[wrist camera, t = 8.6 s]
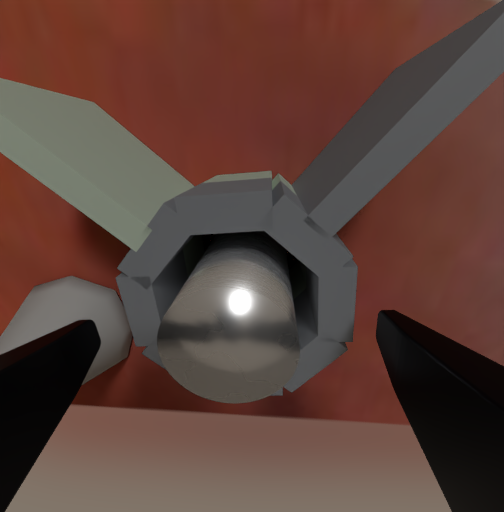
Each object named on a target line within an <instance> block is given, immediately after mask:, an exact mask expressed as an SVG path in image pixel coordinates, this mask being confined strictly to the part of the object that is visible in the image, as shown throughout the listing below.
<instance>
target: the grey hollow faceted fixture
mask: <svg viewBox="0 0 504 512" xmlns="http://www.w3.org/2000/svg"><path fill="white" fill-rule="evenodd" d="M503 72H504V0H502V1H501V2H499V3H498V4H496V5H495V6H493V7H491V8H490V9H488V10H487V11H485V12H484V13H482V14H480V15H479V16H477V17H476V18H474V19H473V20H471V21H469V22H468V23H466V24H465V25H463V26H462V27H460V28H459V29H457V30H455V31H454V32H452V33H451V34H449V35H448V36H446V37H444V38H443V39H441V40H440V41H438V42H437V43H435V44H434V45H432V46H430V47H429V48H427V49H426V50H424V51H423V52H421V53H419V54H418V55H416V56H415V57H413V58H412V59H410V60H408V61H407V62H405V63H404V64H402V65H401V66H399V67H398V68H396V69H395V70H394V71H393V72H392V73H391V74H390V75H389V77H388V78H387V79H386V80H385V81H384V82H383V83H382V84H381V86H380V87H379V88H378V89H377V90H376V91H375V92H374V93H373V94H372V96H371V97H370V98H369V99H368V100H367V101H366V102H365V103H364V105H363V106H362V107H361V108H360V109H359V110H358V111H357V112H356V114H355V115H354V116H353V117H352V118H351V119H350V120H349V121H348V123H347V124H346V125H345V126H344V127H343V128H342V129H341V130H340V131H339V133H338V134H337V135H336V136H335V137H334V138H333V139H332V140H331V142H330V143H329V144H328V145H327V146H326V147H325V148H324V149H323V151H322V152H321V153H320V154H319V155H318V156H317V157H316V158H315V160H314V161H313V162H312V163H311V164H310V165H309V166H308V167H307V168H306V170H305V171H304V172H303V173H302V174H301V175H300V176H299V177H298V179H297V180H296V181H295V182H294V183H293V184H292V187H293V189H294V191H295V193H296V194H297V195H296V194H295V193H293V192H292V191H291V190H290V189H289V188H288V187H287V186H286V185H285V184H284V183H282V182H281V181H280V182H279V183H278V184H277V185H276V186H275V187H274V189H273V190H272V178H260V179H248V180H235V181H222V182H209V183H201V184H199V185H197V186H195V187H193V188H191V189H189V190H187V191H185V192H183V193H181V194H179V195H177V196H175V197H174V198H172V199H170V200H168V201H166V202H164V203H163V204H162V206H161V207H160V209H159V210H158V211H157V213H156V214H155V216H154V217H153V218H152V220H151V221H150V223H149V224H148V225H147V226H148V227H149V228H150V229H152V231H151V233H150V234H149V235H148V237H147V238H146V240H145V241H144V242H143V244H142V245H141V247H140V248H139V249H138V251H137V252H135V251H134V250H133V249H130V251H129V252H128V253H127V255H126V256H125V258H124V259H123V260H122V262H121V263H120V265H119V266H118V267H117V269H119V270H120V271H121V272H122V273H121V274H120V275H119V276H117V277H116V281H117V284H118V288H119V291H120V294H121V298H122V301H123V304H124V308H125V311H126V315H127V318H128V321H129V325H130V328H131V331H132V335H133V338H134V341H135V345H136V346H146V348H145V349H144V351H143V353H142V354H143V355H145V356H146V357H148V358H149V359H151V360H152V361H154V362H155V363H157V364H158V365H160V366H161V367H163V368H164V369H166V368H165V367H164V365H163V363H162V361H161V358H160V355H159V352H158V347H157V334H158V329H159V326H160V323H161V321H162V319H163V317H164V315H165V314H166V312H167V311H168V309H169V307H170V306H171V304H172V303H173V301H174V300H175V298H176V296H177V295H178V293H179V292H180V290H181V289H182V287H183V286H184V284H185V282H186V281H187V279H188V274H187V269H186V264H185V258H184V253H183V247H184V246H185V245H186V244H187V242H188V241H189V240H190V239H191V238H192V236H193V235H202V234H218V233H235V232H252V231H265V232H266V233H268V234H269V235H270V236H271V237H272V238H274V239H275V240H276V241H277V242H278V243H279V244H281V245H282V246H283V247H284V248H285V249H286V250H288V251H289V252H290V253H291V254H292V255H294V256H295V257H296V258H297V259H298V260H299V261H301V262H302V263H303V264H304V265H305V266H306V289H305V290H304V291H302V292H301V293H300V294H299V295H298V296H297V297H296V298H295V299H294V300H293V303H294V310H295V317H296V324H297V331H298V338H299V346H300V357H299V362H298V365H297V368H296V370H295V372H294V374H293V376H292V377H291V379H290V380H289V381H288V382H287V383H286V384H285V385H284V386H283V387H285V388H286V389H287V390H289V391H290V392H293V391H294V390H296V389H297V388H298V387H300V386H301V385H302V384H304V383H305V382H306V381H308V380H309V379H310V378H312V377H313V376H314V375H315V374H317V373H318V372H319V371H321V370H322V369H323V368H325V367H326V366H327V365H329V364H330V363H331V362H333V361H334V360H335V359H337V358H338V357H339V356H340V355H342V354H343V353H344V352H346V351H347V350H348V349H347V346H346V344H345V342H353V328H354V314H355V299H356V284H357V270H358V266H357V265H356V264H355V262H354V261H353V260H352V257H354V256H353V255H352V254H351V253H350V251H349V250H348V249H347V247H346V246H345V245H344V243H343V242H342V241H341V239H340V238H339V237H338V235H337V234H336V233H337V232H338V231H339V230H340V229H341V228H342V227H343V226H344V225H345V224H346V223H347V222H348V221H349V220H350V219H351V218H352V217H353V216H354V215H355V214H356V213H357V212H358V211H359V210H361V209H362V208H363V207H364V206H365V205H366V204H367V203H368V202H369V201H370V200H371V199H372V198H373V197H374V196H375V195H376V194H377V193H378V192H379V191H380V190H381V189H382V188H383V187H384V186H385V185H386V184H387V183H389V182H390V181H391V180H392V179H393V178H394V177H395V176H396V175H397V174H398V173H399V172H400V171H401V170H402V169H403V168H404V167H405V166H406V165H407V164H408V163H409V162H410V161H411V160H412V159H413V158H414V157H415V156H417V155H418V154H419V153H420V152H421V151H422V150H423V149H424V148H425V147H426V146H427V145H428V144H429V143H430V142H431V141H432V140H433V139H434V138H435V137H436V136H437V135H438V134H439V133H440V132H441V131H442V130H444V129H445V128H446V127H447V126H448V125H449V124H450V123H451V122H452V121H453V120H454V119H455V118H456V117H457V116H458V115H459V114H460V113H461V112H462V111H463V110H464V109H465V108H466V107H467V106H468V105H469V104H470V103H472V102H473V101H474V100H475V99H476V98H477V97H478V96H479V95H480V94H481V93H482V92H483V91H484V90H485V89H486V88H487V87H488V86H489V85H490V84H491V83H492V82H493V81H494V80H495V79H496V78H497V77H499V76H500V75H501V74H502V73H503ZM272 395H283V389H282V388H281V389H280V390H278V391H277V392H275V393H274V394H272Z"/></svg>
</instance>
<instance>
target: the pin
mask: <svg viewBox="0 0 504 512" xmlns="http://www.w3.org/2000/svg"><path fill="white" fill-rule="evenodd" d="M157 347H158V352H159V355H160V358H161V361H162V363H163V365H164V367H165V368H166V370H167V371H168V373H169V374H170V375H171V376H172V377H173V378H174V379H175V380H176V381H177V382H178V383H179V384H180V385H182V386H183V387H184V388H186V389H187V390H189V391H191V392H192V393H194V394H196V395H198V396H201V397H203V398H206V399H209V400H213V401H217V402H223V403H246V402H252V401H256V400H260V399H263V398H265V397H268V396H270V395H272V394H274V393H275V392H277V391H278V390H280V389H281V388H282V387H283V386H284V385H285V384H286V383H287V382H288V381H289V380H290V379H291V377H292V376H293V374H294V372H295V370H296V368H297V365H298V362H299V357H300V346H299V338H298V331H297V324H296V317H295V310H294V303H293V296H292V289H291V282H290V275H289V268H288V261H287V254H286V249H285V248H284V247H283V246H282V245H281V244H279V243H278V242H277V241H276V240H275V239H274V238H272V237H271V236H270V235H269V234H268V233H266V232H265V231H252V232H235V233H218V234H216V235H215V237H214V238H213V240H212V242H211V243H210V245H209V246H208V248H207V249H206V251H205V253H204V254H203V256H202V257H201V259H200V260H199V262H198V264H197V265H196V267H195V268H194V270H193V271H192V273H191V275H190V276H189V278H188V279H187V281H186V282H185V284H184V286H183V287H182V289H181V290H180V292H179V293H178V295H177V296H176V298H175V300H174V301H173V303H172V304H171V306H170V307H169V309H168V311H167V312H166V314H165V315H164V317H163V319H162V321H161V323H160V326H159V329H158V334H157Z"/></svg>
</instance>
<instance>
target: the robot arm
mask: <svg viewBox="0 0 504 512" xmlns="http://www.w3.org/2000/svg"><path fill="white" fill-rule="evenodd" d="M376 339H377V343H378V346H379V348H380V351H381V354H382V357H383V360H384V363H385V366H386V369H387V371H388V374H389V377H390V380H391V383H392V386H393V388H394V391H395V393H396V395H397V397H398V399H399V402H400V404H401V406H402V408H403V410H404V412H405V414H406V416H407V418H408V420H409V423H410V425H411V427H412V429H413V431H414V433H415V435H416V437H417V439H418V441H419V443H420V446H421V448H422V450H423V452H424V454H425V456H426V458H427V460H428V462H429V465H430V467H431V469H432V471H433V473H434V475H435V477H436V479H437V481H438V483H439V486H440V488H441V490H442V491H443V494H444V496H445V498H446V500H447V502H448V504H449V507H450V509H451V511H452V512H504V366H502V365H500V364H498V363H496V362H494V361H492V360H490V359H488V358H487V357H485V356H483V355H481V354H479V353H477V352H475V351H473V350H471V349H469V348H467V347H465V346H463V345H461V344H459V343H457V342H456V341H454V340H452V339H450V338H448V337H446V336H444V335H442V334H440V333H438V332H436V331H434V330H432V329H430V328H428V327H426V326H424V325H423V324H421V323H419V322H417V321H415V320H413V319H411V318H409V317H407V316H405V315H403V314H401V313H399V312H397V311H395V310H381V311H380V312H379V313H378V319H377V329H376ZM100 346H101V339H100V336H99V333H98V330H97V327H96V324H95V322H94V321H93V320H91V319H86V320H77V321H75V322H73V323H71V324H68V325H66V326H64V327H62V328H59V329H57V330H55V331H53V332H50V333H48V334H46V335H44V336H41V337H39V338H37V339H35V340H32V341H30V342H28V343H26V344H23V345H21V346H19V347H17V348H14V349H12V350H10V351H8V352H5V353H3V354H1V355H0V512H5V511H6V509H7V507H8V506H9V504H10V502H11V501H12V499H13V498H14V496H15V494H16V493H17V491H18V489H19V488H20V486H21V484H22V483H23V481H24V480H25V478H26V476H27V475H28V473H29V471H30V470H31V468H32V466H33V465H34V463H35V462H36V460H37V458H38V457H39V455H40V453H41V452H42V450H43V448H44V447H45V445H46V443H47V442H48V440H49V439H50V437H51V435H52V434H53V432H54V430H55V429H56V427H57V426H58V424H59V422H60V421H61V419H62V417H63V415H64V414H65V412H66V411H67V409H68V407H69V406H70V404H71V403H72V401H73V399H74V398H75V396H76V394H77V392H78V391H79V389H80V387H81V385H82V383H83V381H84V379H85V377H86V375H87V373H88V371H89V369H90V367H91V365H92V363H93V361H94V359H95V357H96V355H97V353H98V351H99V349H100Z"/></svg>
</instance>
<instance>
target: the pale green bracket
mask: <svg viewBox="0 0 504 512" xmlns="http://www.w3.org/2000/svg"><path fill="white" fill-rule="evenodd" d="M0 152H1V153H2V154H4V155H5V156H6V157H8V158H9V159H10V160H12V161H13V162H14V163H16V164H17V165H19V166H20V167H21V168H23V169H24V170H25V171H27V172H28V173H29V174H31V175H32V176H33V177H35V178H36V179H38V180H39V181H40V182H42V183H43V184H44V185H46V186H47V187H48V188H50V189H51V190H52V191H54V192H55V193H57V194H58V195H59V196H61V197H62V198H63V199H65V200H66V201H67V202H69V203H70V204H71V205H73V206H74V207H76V208H77V209H78V210H80V211H81V212H82V213H84V214H85V215H86V216H88V217H89V218H90V219H92V220H93V221H95V222H96V223H97V224H99V225H100V226H101V227H103V228H104V229H105V230H107V231H108V232H109V233H111V234H112V235H114V236H115V237H116V238H118V239H119V240H120V241H122V242H123V243H124V244H126V245H127V246H128V247H130V248H131V249H133V250H134V251H135V252H137V251H138V249H139V248H140V247H141V245H142V244H143V242H144V241H145V240H146V238H147V237H148V235H149V234H150V233H151V231H152V229H150V228H149V227H148V226H147V225H148V224H149V223H150V221H151V220H152V218H153V217H154V216H155V214H156V213H157V211H158V210H159V209H160V207H161V206H162V204H163V203H164V202H166V201H168V200H170V199H172V198H174V197H175V196H177V195H179V194H181V193H183V192H185V191H187V190H189V189H191V188H193V187H195V186H193V185H192V184H191V183H190V182H189V181H187V180H186V179H185V178H184V177H183V176H181V175H180V174H179V173H178V172H177V171H175V170H174V169H173V168H172V167H171V166H169V165H168V164H167V163H166V162H165V161H163V160H162V159H161V158H160V157H159V156H157V155H156V154H155V153H154V152H153V151H151V150H150V149H149V148H148V147H147V146H145V145H144V144H143V143H142V142H141V141H139V140H138V139H137V138H136V137H135V136H133V135H132V134H131V133H130V132H129V131H127V130H126V129H125V128H124V127H123V126H122V125H120V124H119V123H118V122H117V121H116V120H114V119H113V118H112V117H111V116H110V115H108V114H107V113H106V112H105V111H104V110H102V109H101V108H100V107H99V106H98V105H96V104H95V103H94V102H91V101H87V100H83V99H79V98H75V97H71V96H68V95H64V94H60V93H56V92H52V91H48V90H44V89H40V88H37V87H33V86H29V85H25V84H21V83H17V82H13V81H10V80H6V79H2V78H0ZM260 178H272V171H264V172H252V173H239V174H227V175H217V176H215V177H213V178H211V179H209V180H207V181H205V182H203V183H209V182H222V181H235V180H248V179H260ZM280 181H281V182H282V183H284V184H285V185H286V186H287V187H288V188H289V189H290V190H291V191H292V192H293V193H295V191H294V189H293V187H292V185H291V184H290V183H288V182H287V181H286V180H285V179H284V178H283V177H282V176H281V175H280V174H279V173H278V174H277V175H276V177H275V178H274V179H273V180H272V190H273V189H274V187H275V186H276V185H277V184H278V183H279V182H280ZM295 194H296V193H295ZM296 195H297V194H296ZM183 253H184V258H185V264H186V269H187V274H188V278H189V276H190V275H191V273H192V271H193V270H194V268H195V267H196V265H197V264H198V262H199V260H200V259H201V257H202V256H203V254H204V253H205V250H204V243H203V237H202V235H193V236H192V238H191V239H190V240H189V241H188V242H187V244H186V245H185V246H184V247H183ZM289 275H290V282H291V289H292V296H293V300H294V299H295V298H296V297H297V296H298V295H299V294H300V293H301V292H302V291H304V290H305V289H306V266H305V265H304V264H303V263H302V262H301V261H299V260H298V261H297V262H296V263H295V264H294V265H293V266H292V267H291V268H290V269H289Z"/></svg>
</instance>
